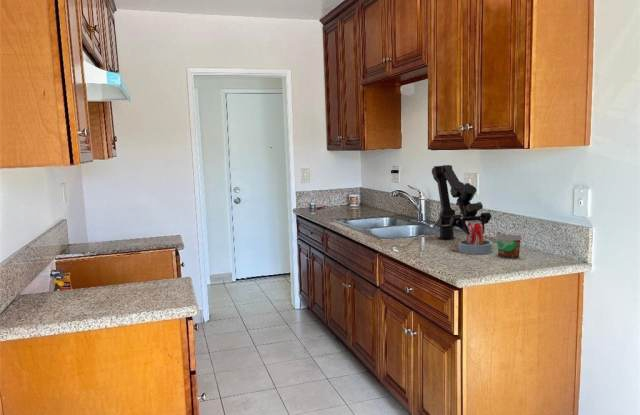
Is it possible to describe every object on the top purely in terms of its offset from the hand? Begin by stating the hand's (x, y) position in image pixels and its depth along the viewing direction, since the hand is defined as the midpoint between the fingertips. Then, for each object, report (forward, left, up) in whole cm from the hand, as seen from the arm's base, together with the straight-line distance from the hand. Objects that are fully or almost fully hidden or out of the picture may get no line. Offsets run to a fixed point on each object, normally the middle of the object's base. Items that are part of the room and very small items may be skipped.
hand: (476, 233), depth 225 cm
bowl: (-1, 0, -8) cm, 8 cm away
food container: (+15, 0, -8) cm, 17 cm away
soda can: (-1, +1, -7) cm, 7 cm away
